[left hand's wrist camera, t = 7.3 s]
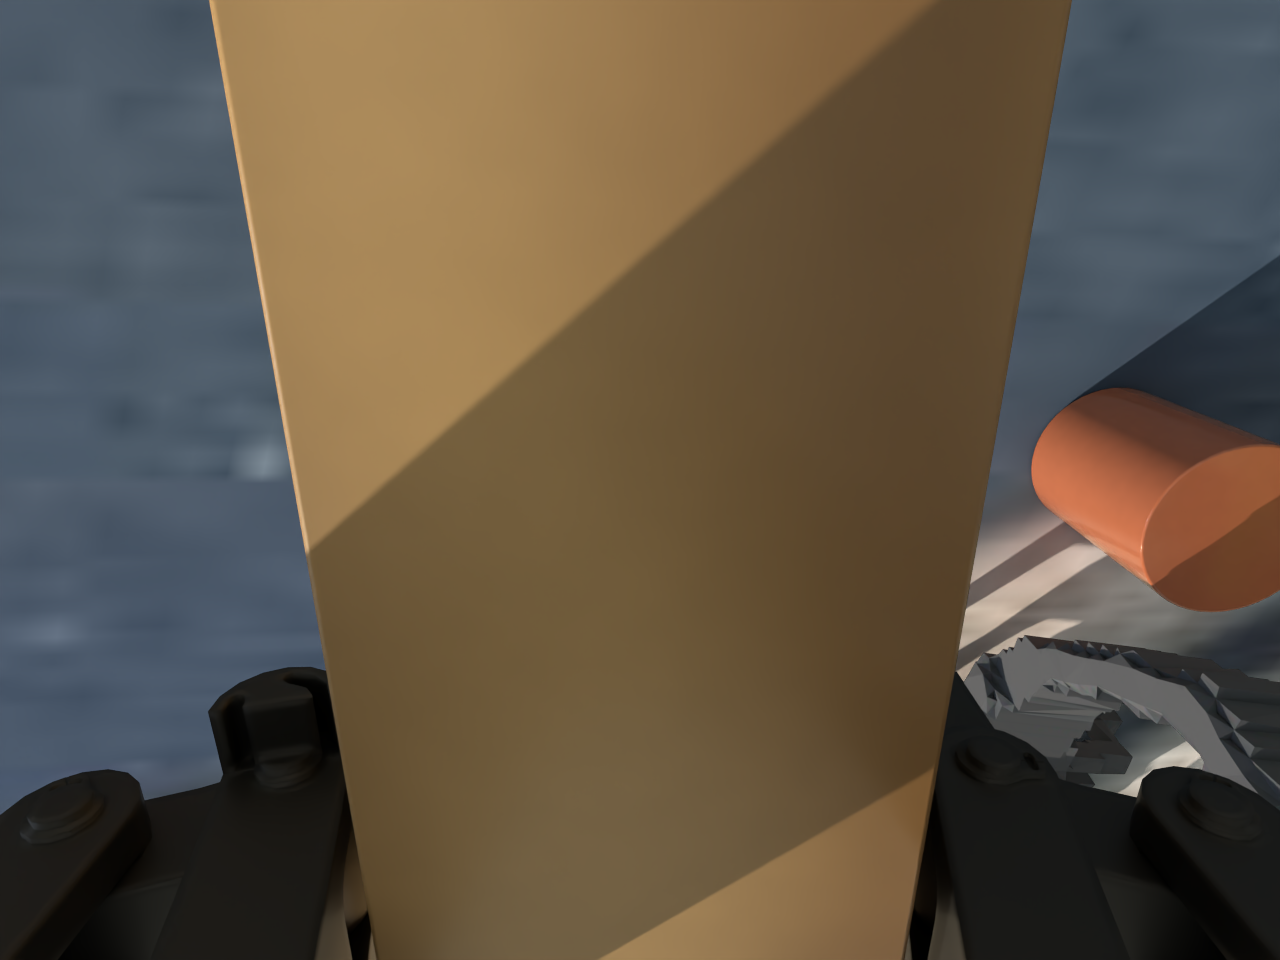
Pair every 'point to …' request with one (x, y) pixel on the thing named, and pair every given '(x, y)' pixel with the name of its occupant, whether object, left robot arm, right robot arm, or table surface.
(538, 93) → the oak bar
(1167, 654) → the toy
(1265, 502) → the orange glossy cylinder
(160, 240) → the table surface
